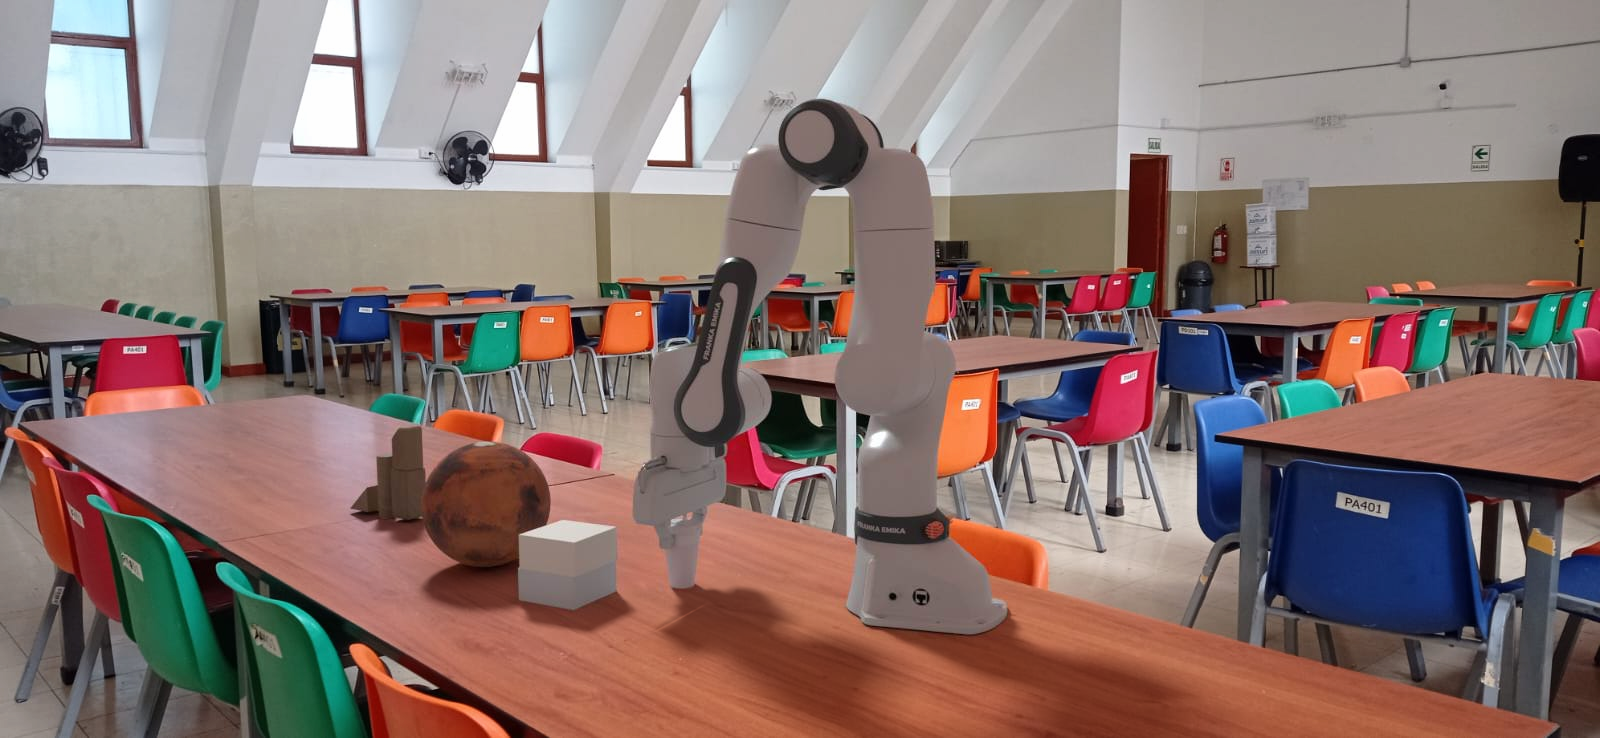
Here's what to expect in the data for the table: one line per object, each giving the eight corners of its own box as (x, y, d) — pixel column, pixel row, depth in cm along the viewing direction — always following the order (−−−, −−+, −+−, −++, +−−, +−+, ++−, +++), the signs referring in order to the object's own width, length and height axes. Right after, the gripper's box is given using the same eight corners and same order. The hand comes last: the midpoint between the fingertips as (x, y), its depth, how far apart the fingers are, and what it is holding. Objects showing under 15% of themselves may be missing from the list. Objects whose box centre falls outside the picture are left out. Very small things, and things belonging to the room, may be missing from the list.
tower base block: (616, 592, 169) (615, 560, 168) (573, 611, 160) (572, 577, 160) (563, 583, 174) (562, 551, 173) (518, 601, 165) (517, 568, 164)
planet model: (462, 545, 195) (458, 430, 193) (571, 551, 191) (568, 434, 189) (398, 578, 176) (393, 451, 173) (518, 586, 172) (514, 455, 169)
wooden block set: (432, 519, 214) (428, 425, 213) (407, 525, 210) (403, 429, 208) (375, 508, 224) (371, 418, 222) (350, 514, 219) (345, 421, 217)
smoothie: (696, 592, 168) (695, 499, 167) (655, 590, 169) (653, 497, 168) (708, 580, 174) (707, 490, 173) (668, 577, 176) (667, 488, 174)
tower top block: (617, 559, 169) (616, 526, 168) (575, 577, 160) (574, 542, 159) (563, 552, 173) (562, 519, 172) (519, 568, 164) (518, 534, 164)
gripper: (657, 465, 159) (659, 561, 161) (733, 442, 177) (733, 529, 179) (620, 461, 162) (622, 555, 163) (698, 439, 180) (700, 525, 181)
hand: (681, 542), depth 171 cm, fingers closed on smoothie, 6 cm apart
